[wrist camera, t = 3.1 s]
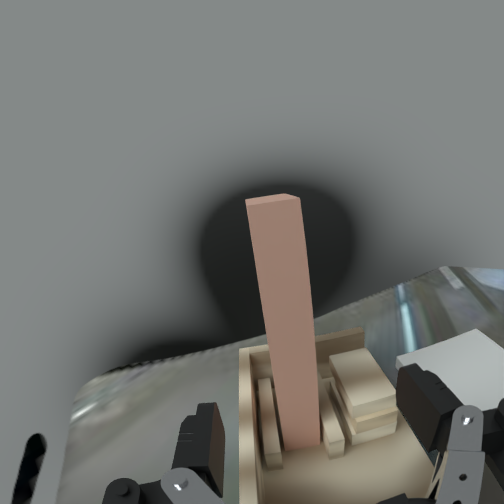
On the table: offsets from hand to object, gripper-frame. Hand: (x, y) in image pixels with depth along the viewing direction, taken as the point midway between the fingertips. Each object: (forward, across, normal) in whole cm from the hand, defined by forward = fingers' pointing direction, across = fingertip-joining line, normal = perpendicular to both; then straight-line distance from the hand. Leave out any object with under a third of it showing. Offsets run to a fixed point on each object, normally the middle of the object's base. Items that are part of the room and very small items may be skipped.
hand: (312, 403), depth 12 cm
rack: (+8, -3, +14) cm, 16 cm away
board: (+10, 0, +12) cm, 16 cm away
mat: (+10, -20, +13) cm, 26 cm away
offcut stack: (+10, -6, +12) cm, 17 cm away
